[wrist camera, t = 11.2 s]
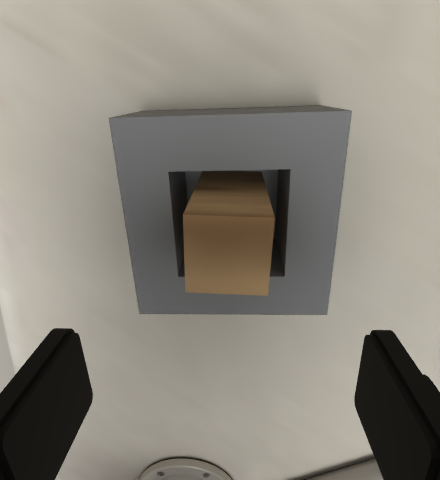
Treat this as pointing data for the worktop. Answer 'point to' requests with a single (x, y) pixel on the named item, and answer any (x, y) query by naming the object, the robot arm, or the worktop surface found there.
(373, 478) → the tube
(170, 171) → the socket
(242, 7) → the worktop surface
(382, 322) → the worktop surface
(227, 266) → the peg
